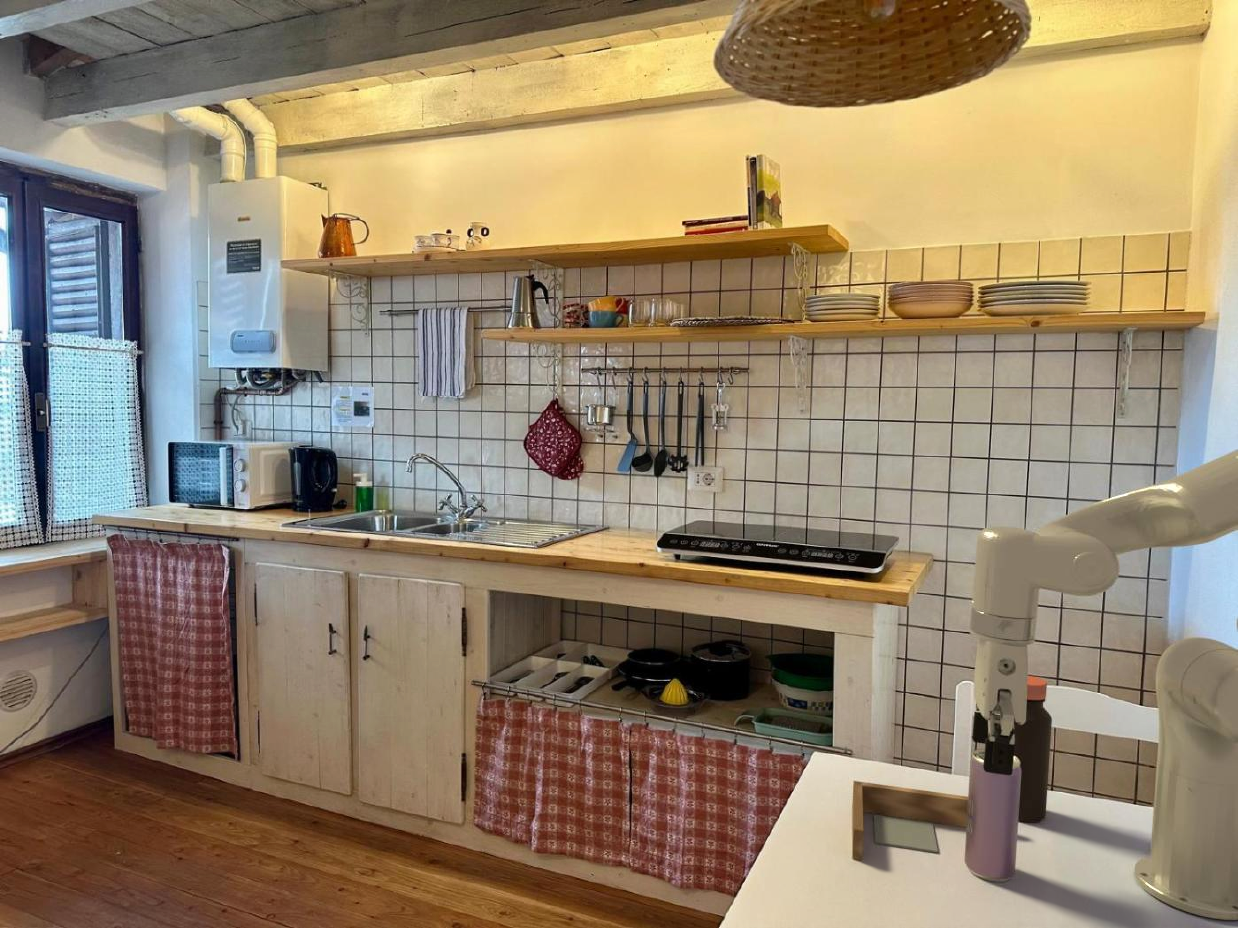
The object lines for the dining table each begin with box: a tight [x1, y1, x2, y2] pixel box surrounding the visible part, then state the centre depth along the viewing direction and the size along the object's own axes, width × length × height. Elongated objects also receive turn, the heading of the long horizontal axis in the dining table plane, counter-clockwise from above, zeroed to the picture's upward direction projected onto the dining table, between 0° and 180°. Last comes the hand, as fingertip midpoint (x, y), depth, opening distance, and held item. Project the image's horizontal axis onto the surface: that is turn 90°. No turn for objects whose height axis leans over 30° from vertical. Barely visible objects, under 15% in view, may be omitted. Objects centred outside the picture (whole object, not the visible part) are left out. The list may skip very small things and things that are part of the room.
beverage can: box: [964, 748, 1021, 883], centre depth 108 cm, size 6×6×15 cm
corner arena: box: [851, 780, 968, 861], centre depth 115 cm, size 20×15×4 cm
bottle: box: [1014, 675, 1053, 823], centre depth 124 cm, size 7×7×20 cm
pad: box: [873, 814, 939, 854], centre depth 117 cm, size 8×8×1 cm
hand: (991, 757), depth 108 cm, fingers open, 9 cm apart
